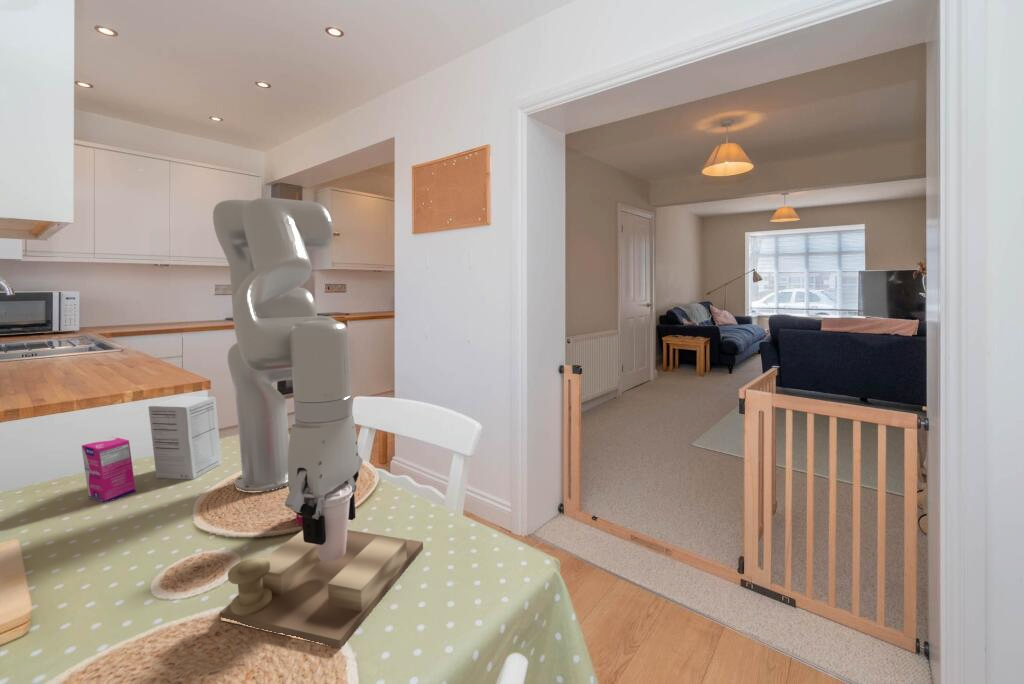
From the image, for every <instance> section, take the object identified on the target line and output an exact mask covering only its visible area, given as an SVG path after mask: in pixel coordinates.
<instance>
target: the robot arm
mask: <svg viewBox="0 0 1024 684" xmlns="http://www.w3.org/2000/svg"><path fill="white" fill-rule="evenodd" d="M212 219H213V220H212V221H213V227H214V233H215V235H216V238H217V241H218V243H219V245H220V247H221V248H222V251H223V254H224V255H225V257H226V260H227V263H228V266H229V275H230V276H229V277H230V290H231V291H230V293H231V302H232V303H231V305H232V319H233V320H232V321H233V328H234V332H235V336H236V337H235V338H236V341H237V343H234V344H233V345H232V346H231V347H230V348H229V350H228V352H227V364H228V369H229V373H230V376H231V381H232V384H233V389H234V396H235V405H236V416H237V425H238V438H239V441H238V442H239V451H240V452H239V453H240V463H241V465H240V466H241V475H239V476H238V477H236V478H235V480H234V482H233V485H234V484H235V485H234V487H235V486H236V487H237V488H239V489H241V490H244V491H267V490H272V489H276V488H279V489H281V488H280V487H282V488H284V487H283V486H285V487H287V486H288V491H289V493H288V495H287V497H286V499H285V501H284V506H285V507H286V508H288V509H290V510H291V511H292V512H293V513H295V514H296V513H297V514H298V516H299V517H302V524H303V525H302V530H303V539H304V542H306V543H312V544H318V545H323V544H324V543H325V542H326V534H325V518H324V516H321V511H322V506H323V500H324V495H326V494H327V493H329V492H330V491H332V490H333V489H335V488H336V487H338V486H339V485H341V484H342V483H347V484H349V485H350V486H351V487H352V494H353V495H352V497H351V498H350V506H349V517H348V521H353V520H355V518H356V504H355V503H356V500H355V493H356V492H357V483H356V482H357V480H358V479H359V472H360V470H361V467H362V465H363V461H364V460H363V458H362V457H361V456H360V455H359V445H358V444H359V442H358V435H357V429H356V423H355V418H354V415H353V397H352V396H353V395H352V380H351V379H352V377H351V358H350V357H351V355H350V340H349V339H350V338H349V329H348V328H347V325H346V324H345V323H343V322H342V321H338V320H336V319H335V318H333V317H331V316H325V315H324V316H323V315H319V316H318V312H317V311H318V310H317V304H316V301H315V298H314V295H313V294H312V292H310V291H309V289H306V288H304V287H302V286H303V285H304V284H306V283H307V281H308V280H309V279H310V277H311V275H312V271H313V268H312V267H313V266H312V263H311V260H310V257H309V253H308V251H307V249H309V250H310V249H312V250H324V249H326V248H328V247H329V246H330V245H331V244H332V241H333V239H334V238H333V237H334V224H333V220H332V217H331V215H330V213H329V211H328V209H326V207H325V206H324V205H322V204H321V203H319V202H315V201H309V200H300V199H299V200H298V199H291V198H289V199H288V198H279V197H278V198H277V197H258V198H256V199H252V200H250V199H228V200H223V201H220V202H218V203H217V204H216V205H215V206H214V208H213V212H212ZM288 380H289V381H291V380H292V392H293V408H294V424H292V425H291V429H290V433H289V422H288V421H289V420H288V405H287V401H286V398H285V397H284V395H283V394H282V392H280V391H279V390H278V389H276V387H274V386H273V383H277V382H283V381H288ZM286 485H287V486H286ZM276 490H277V489H276ZM311 490H313V493H311V492H310V491H311ZM272 491H273V490H272ZM267 492H268V491H267ZM310 498H313V499H315V502H314V507H312V506H310V505H309V500H310Z"/></svg>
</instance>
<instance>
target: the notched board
mask: <svg viewBox="0 0 1024 684" xmlns="http://www.w3.org/2000/svg"><path fill="white" fill-rule="evenodd" d="M423 549H424V542H423V541H418V540H413V539H408V538H406V539H405V538H400V537H394V536H389V535H387V536H386V535H383V534H382V535H381V534H376V533H369V532H362V531H358V530H357V531H356V530H350V529H347V541H346V553H345V555H344V556H343V557H341V558H339V559H337V560H334V561H328V562H327V561H322V560H320V559H319V557H318V552H317V547H316V544H312V543H306V542H304V539H303V529H302V530H301V531H300V532H298V533H297V534H295V535H294V536H292V537H291V538H290V539H288V540H287V541H286V542H285V543H283V544H281V545H280V546H279V547H277V548H276V549H275V550H274V551H272V552H271V553H269V554H267V556H265V557H252V558H248V559H244V560H242V561H239V562H238V563H236V564H235V565H233V566H232V567H231V568H230V569H229V570H228V572H227V578H228V582H230V583H231V584H234V585H237V590H238V595H236V596H235V597H234V598H233V599H232V601H231V602H230V603H229V604H228V605H226V606H225V607H224V608H223V609H222V610H220V611H219V618H220V617H222V618H226V619H230V620H234V621H237V622H240V623H242V624H245V625H248V626H252V627H255V628H259V629H264V630H268V631H272V632H276V633H283V634H285V635H291V636H296V637H300V638H303V639H307V640H310V641H314V642H319V643H323V644H325V645H328V646H331V647H330V648H332V649H337V648H339V649H338V650H341V649H342V648H343V647H344V645H345V644H346V643H347V642H348V641H349V639H350V638H352V636H353V634H354V633H355V632H356V631H357V630H358V629H359V627H360V626H361V625H362V624H363V622H364V621H365V620H366V619H367V618H368V616H369V615H370V614H371V613H372V611H373V610H374V609H375V608H376V606H377V605H378V604H379V603H380V602H381V600H382V599H383V598H384V597H385V595H387V594H388V592H389V591H390V589H391V588H392V587H393V586H394V585H395V583H396V582H397V581H398V580H399V579H400V577H401V576H402V575H403V574H404V573H405V572H406V571H407V569H408V568H409V567H410V565H411V564H413V562H414V560H416V558H417V557H418V556H419V554H420V553H421V552H422V551H423ZM328 646H327V647H328ZM342 646H343V647H342ZM341 647H342V648H341Z"/></svg>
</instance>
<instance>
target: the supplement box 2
mask: <svg viewBox="0 0 1024 684" xmlns="http://www.w3.org/2000/svg"><path fill="white" fill-rule="evenodd" d="M216 398H217V397H215V396H200V395H199V396H198V395H196V396H195V395H194V396H193V395H180V396H177V397H174V398H171V399H168V400H165V401H161V402H157V403H154V404H151V405H149V406H148V407H147V408H148V414H149V423H150V434H151V442H152V449H153V459H154V466H155V467H154V468H155V474H156V478H157V479H169V480H170V479H174V480H192V481H193V480H195V479H196V478H198V477H200V476H202V475H203V474H206V473H207V472H209V471H211V470H213V469H215V468H217V467H218V466H221V465H222V464H223V463H222V454H221V451H222V450H221V442H220V431H219V422H218V413H217V412H218V410H217V399H216Z"/></svg>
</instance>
